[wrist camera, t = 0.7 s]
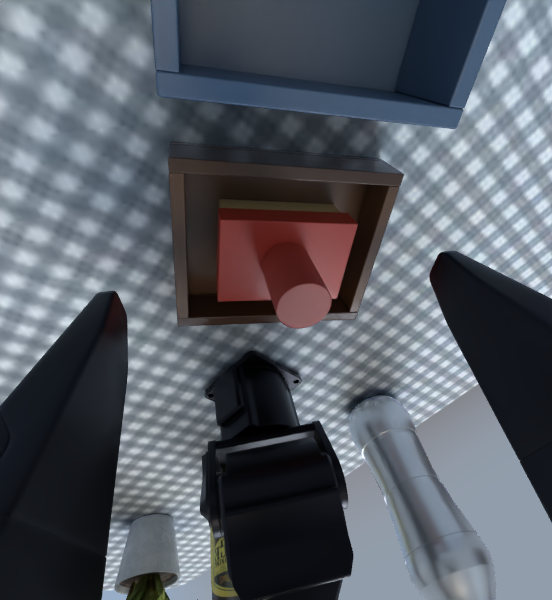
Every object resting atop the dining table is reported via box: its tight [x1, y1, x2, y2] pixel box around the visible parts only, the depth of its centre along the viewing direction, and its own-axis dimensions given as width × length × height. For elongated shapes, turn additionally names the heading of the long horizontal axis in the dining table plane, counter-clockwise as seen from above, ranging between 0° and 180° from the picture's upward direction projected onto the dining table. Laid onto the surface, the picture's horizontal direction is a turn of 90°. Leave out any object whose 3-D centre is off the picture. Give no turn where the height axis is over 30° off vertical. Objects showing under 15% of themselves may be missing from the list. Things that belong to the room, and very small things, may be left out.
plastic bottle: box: [349, 395, 496, 600], centre depth 30 cm, size 6×7×20 cm
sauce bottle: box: [210, 527, 240, 600], centre depth 33 cm, size 7×6×20 cm
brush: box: [216, 199, 358, 328], centre depth 20 cm, size 8×5×7 cm
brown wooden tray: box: [168, 142, 404, 326], centre depth 22 cm, size 10×12×3 cm
